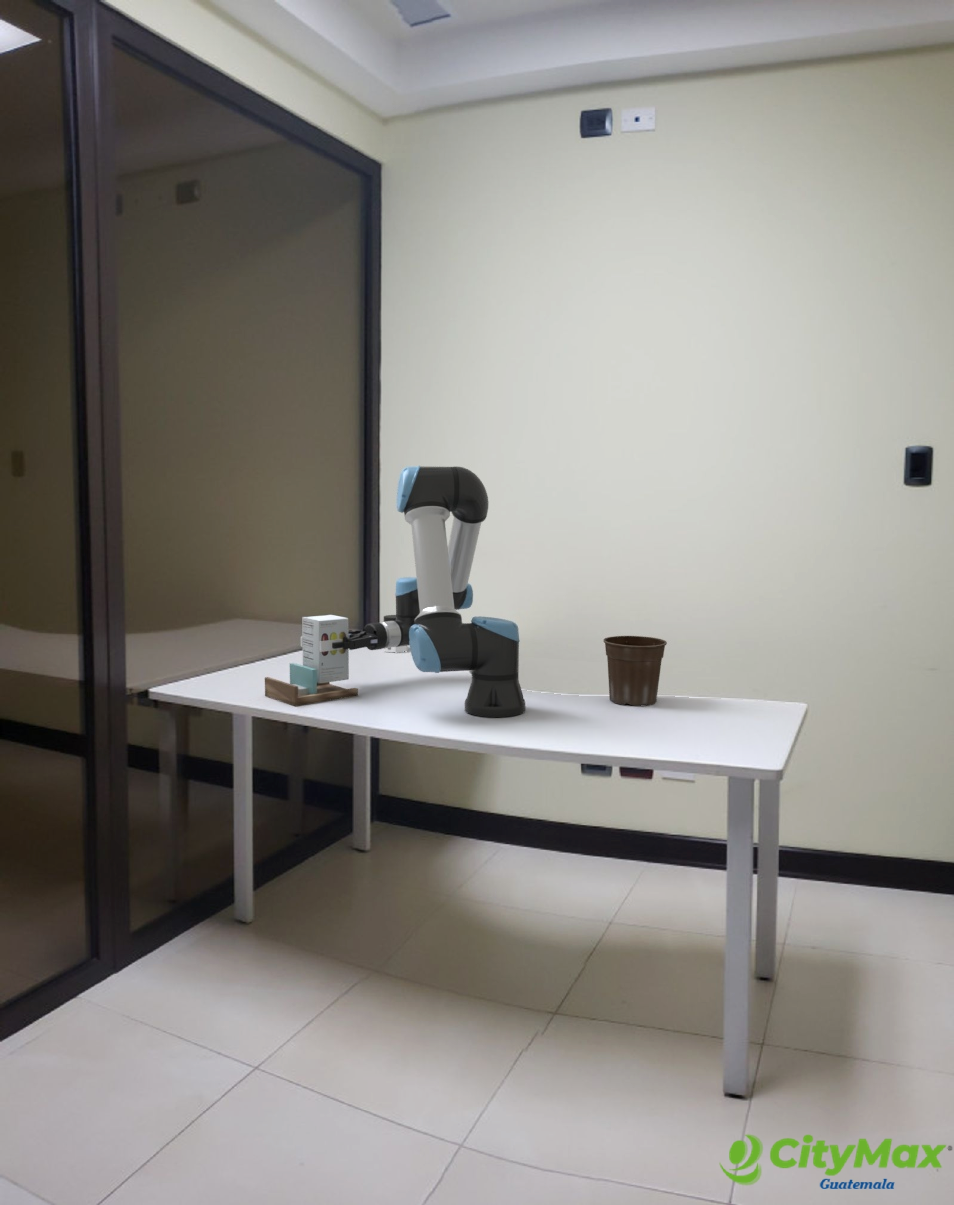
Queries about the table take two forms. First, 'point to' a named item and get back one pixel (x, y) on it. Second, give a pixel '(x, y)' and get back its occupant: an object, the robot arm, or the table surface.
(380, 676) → the table surface
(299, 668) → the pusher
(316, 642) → the supplement box
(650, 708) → the table surface
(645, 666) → the plant pot
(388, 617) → the jar
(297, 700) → the lane
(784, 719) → the table surface
